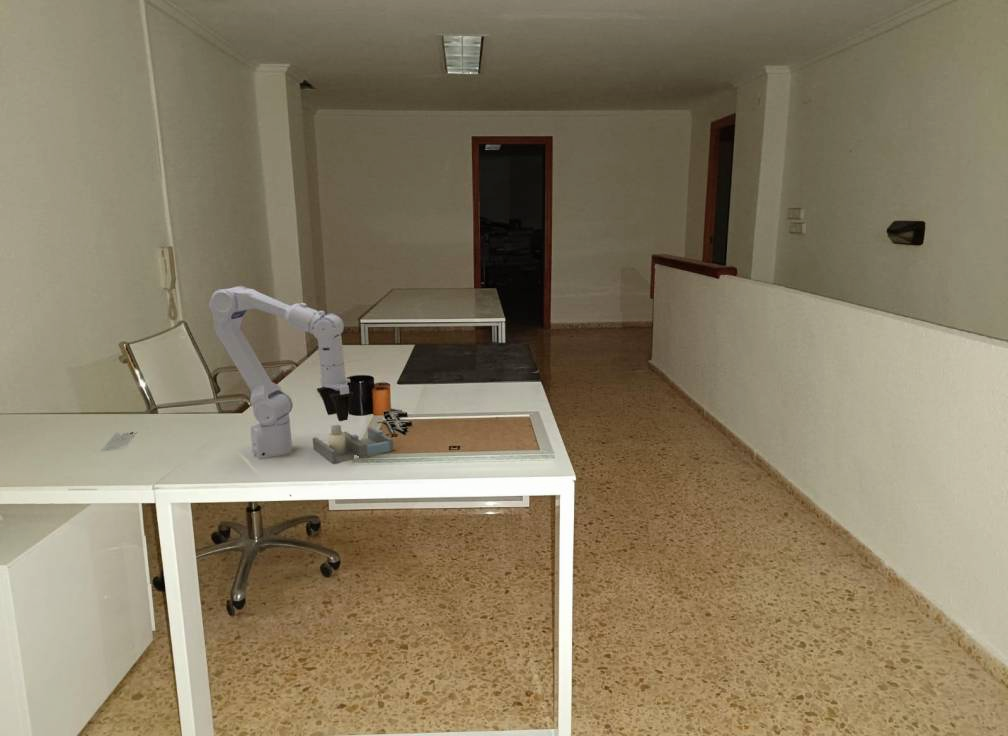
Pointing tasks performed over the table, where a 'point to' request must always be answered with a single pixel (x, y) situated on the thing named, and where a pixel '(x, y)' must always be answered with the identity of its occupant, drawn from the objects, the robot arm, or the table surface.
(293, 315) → the robot arm
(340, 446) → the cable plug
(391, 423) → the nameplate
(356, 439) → the grey walled tray piece
